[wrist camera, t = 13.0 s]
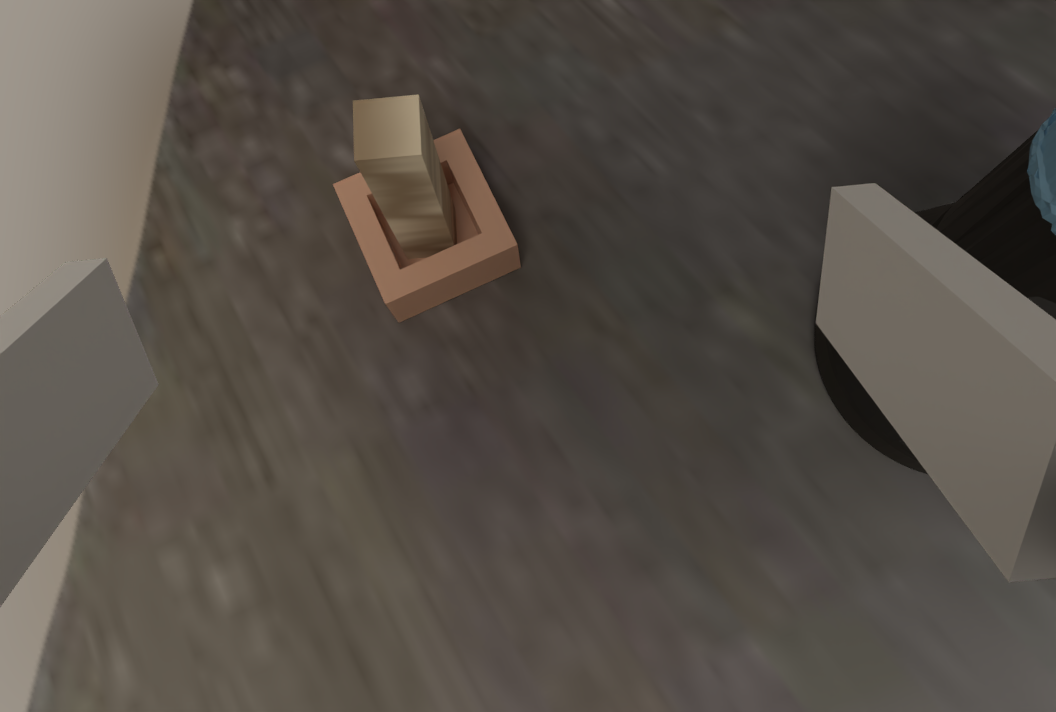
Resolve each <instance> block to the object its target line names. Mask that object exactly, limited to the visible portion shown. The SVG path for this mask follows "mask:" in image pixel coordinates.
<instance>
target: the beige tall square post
mask: <svg viewBox="0 0 1056 712" xmlns="http://www.w3.org/2000/svg"><path fill="white" fill-rule="evenodd" d="M353 128H354V161H355V163H356V165H357V167H358V169H359V170H360V172H361V174H362V176H363V178H364V180H365V181H366V183H367V185H368V187H369V189H370V191H371V193H372V194H373V196H374V198H375V200H376V202H377V204H378V205H379V207H380V209H381V211H382V213H383V215H384V217H385V218H386V220H387V222H388V224H389V226H390V228H391V229H392V231H393V233H394V235H395V237H396V239H397V240H398V242H399V244H400V246H401V248H402V250H403V252H404V253H405V255H406V257H407V259H416V258H427V257H430V256H432V255H434V254H436V253H438V252H441V251H443V250H445V249H447V248H450V247H452V246H454V245H456V244H457V234H456V217H455V207H454V204H453V201H452V197H451V194H450V191H449V188H448V185H447V182H446V179H445V175H444V172H443V169H442V166H441V163H440V160H439V157H438V154H437V150H436V147H435V144H434V141H433V138H432V135H431V132H430V128H429V125H428V122H427V119H426V116H425V113H424V110H423V107H422V103H421V100H420V97H419V95H409V96H399V97H388V98H377V99H366V100H356V101H353Z"/></svg>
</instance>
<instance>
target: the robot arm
mask: <svg viewBox="0 0 1056 712" xmlns="http://www.w3.org/2000/svg"><path fill="white" fill-rule="evenodd" d="M815 350H816V357H817V362H818V366H819V370H820V373H821V376H822V379H823V382H824V384H825V387H826V389H827V391H828V393H829V395H830V397H831V399H832V401H833V402H834V404H835V406H836V407H837V409H838V410H839V412H840V413H841V414H842V416H843V417H844V419H845V420H846V421H847V422H848V423H849V425H850V426H851V427H852V428H853V429H854V430H855V431H856V432H857V433H858V434H859V435H860V436H861V437H862V438H863V439H864V440H865V441H867V442H868V443H869V444H870V445H872V446H873V447H874V448H875V449H877V450H878V451H880V452H881V453H883V454H884V455H886V456H887V457H889V458H891V459H893V460H894V461H896V462H898V463H900V464H902V465H904V466H907V467H909V468H912V469H914V470H917V471H920V472H923V473H926V474H929V476H930V477H931V478H932V480H933V481H934V482H935V484H936V485H937V487H938V488H939V489H940V491H941V492H942V493H943V495H944V496H945V497H946V499H947V500H948V501H949V503H950V504H951V505H952V507H953V508H954V509H955V511H956V512H957V513H958V515H959V516H960V517H961V519H962V520H963V521H964V523H965V524H966V526H967V527H968V528H969V530H970V531H971V532H972V534H973V535H974V536H975V538H976V539H977V540H978V542H979V543H980V544H981V546H982V547H983V548H984V550H985V551H986V552H987V554H988V555H989V556H990V558H991V559H992V560H993V562H994V563H995V565H996V566H997V567H998V569H999V570H1000V571H1001V573H1002V574H1003V575H1004V577H1005V578H1006V579H1007V581H1008V582H1018V581H1029V580H1041V579H1053V578H1056V108H1055V109H1054V110H1053V112H1052V114H1051V116H1050V117H1049V118H1048V119H1047V120H1046V121H1045V122H1044V123H1043V124H1042V125H1041V127H1040V128H1039V130H1038V131H1037V132H1035V133H1034V134H1033V135H1032V136H1031V137H1030V138H1029V139H1027V140H1026V141H1025V142H1024V143H1023V144H1022V145H1021V146H1019V147H1018V148H1017V149H1016V150H1015V151H1014V152H1013V153H1012V154H1010V155H1009V156H1008V157H1007V158H1006V159H1005V160H1004V161H1002V162H1001V163H1000V164H999V165H998V166H997V167H996V168H994V169H993V170H992V171H991V172H990V173H989V174H988V175H987V176H985V177H984V178H983V179H982V180H981V181H980V182H979V183H977V184H976V185H975V186H974V187H973V188H972V189H971V190H969V191H968V192H967V193H966V194H965V195H964V196H962V197H961V198H960V199H959V200H958V201H957V202H956V203H952V204H948V205H944V206H940V207H936V208H932V209H928V210H924V211H920V212H916V213H914V212H913V211H911V210H910V209H909V208H907V207H906V206H905V205H903V204H902V203H901V202H899V201H898V200H897V199H896V198H894V197H893V196H892V195H890V194H889V193H888V192H886V191H885V190H884V189H882V188H881V187H880V186H878V185H877V184H876V183H870V184H859V185H849V186H839V187H832V189H831V198H830V206H829V215H828V223H827V232H826V240H825V248H824V257H823V265H822V274H821V282H820V291H819V299H818V308H817V315H816V322H815ZM157 386H158V382H157V380H156V377H155V375H154V372H153V370H152V367H151V365H150V362H149V360H148V358H147V355H146V353H145V350H144V348H143V345H142V343H141V340H140V338H139V336H138V333H137V331H136V328H135V326H134V323H133V321H132V318H131V316H130V314H129V311H128V309H127V306H126V304H125V301H124V299H123V296H122V294H121V292H120V289H119V287H118V284H117V282H116V279H115V277H114V275H113V272H112V270H111V267H110V265H109V262H108V260H107V258H103V259H92V260H81V261H71V262H65V263H64V264H62V265H61V266H60V267H59V268H58V269H56V270H55V271H54V272H53V273H52V274H50V275H49V276H48V277H47V278H46V279H44V280H43V281H42V282H41V283H39V284H38V285H37V286H36V287H35V288H34V289H32V290H31V291H30V292H29V293H27V294H26V295H25V296H24V297H23V298H21V299H20V300H19V301H18V302H17V303H15V304H14V305H13V306H12V307H10V308H9V309H8V310H7V311H6V312H4V313H3V314H2V315H1V316H0V607H1V605H2V604H3V603H4V601H5V600H6V598H7V597H8V595H9V594H10V593H11V591H12V589H14V587H15V586H16V584H17V583H18V582H19V580H20V579H21V577H22V575H23V574H24V573H25V572H26V570H27V569H28V567H29V566H30V565H31V563H32V562H33V560H34V559H35V558H36V556H37V555H38V553H39V552H40V551H41V549H42V548H43V546H44V545H45V543H46V542H47V541H48V539H49V538H50V536H51V535H52V534H53V532H54V531H55V529H56V528H57V527H58V525H59V523H60V522H61V521H62V520H63V518H64V517H65V515H66V514H67V512H68V511H69V510H70V508H71V507H72V505H73V504H74V503H75V501H76V500H77V498H78V497H79V496H80V494H81V493H82V491H83V490H84V489H85V487H86V486H87V484H88V483H89V482H90V480H91V479H92V477H93V476H94V475H95V473H96V472H97V470H98V469H99V468H100V466H101V465H102V463H103V462H104V460H105V459H106V458H107V456H108V455H109V453H110V452H111V451H112V449H113V448H114V446H115V445H116V444H117V442H118V441H119V439H120V438H121V437H122V435H123V434H124V432H125V431H126V430H127V428H128V427H129V425H130V424H131V422H132V421H133V420H134V418H135V417H136V415H137V414H138V413H139V411H140V410H141V408H142V407H143V406H144V404H145V403H146V401H147V400H148V399H149V397H150V396H151V394H152V393H153V392H154V390H155V389H156V387H157Z"/></svg>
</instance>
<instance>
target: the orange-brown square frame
mask: <svg viewBox="0 0 1056 712" xmlns="http://www.w3.org/2000/svg"><path fill="white" fill-rule="evenodd" d="M433 141H434V144H435V147H436V150H437V154H438V157H439V160H440V163H441V166H442V169H443V172H444V175H445V179H446V182H447V185H448V188H449V191H450V194H451V197H452V201H453V204H454V207H455V217H456V234H457V244H456V245H454V246H452V247H450V248H447V249H445V250H443V251H441V252H438V253H436V254H434V255H432V256H430V257H427V258H416V259H407V257H406V255H405V253H404V252H403V250H402V248H401V246H400V244H399V242H398V240H397V239H396V237H395V235H394V233H393V231H392V229H391V228H390V226H389V224H388V222H387V220H386V218H385V217H384V215H383V213H382V211H381V209H380V207H379V205H378V204H377V202H376V200H375V198H374V196H373V194H372V193H371V191H370V189H369V187H368V185H367V183H366V181H365V180H364V178H363V176H362V174H361V172H360V173H358V174H355V175H353V176H351V177H348V178H346V179H344V180H342V181H339V182H337V183H335V184H333V186H334V188H335V190H336V193H337V195H338V197H339V199H340V202H341V204H342V206H343V209H344V211H345V213H346V215H347V218H348V220H349V222H350V225H351V227H352V229H353V231H354V234H355V236H356V238H357V241H358V243H359V245H360V247H361V250H362V252H363V254H364V257H365V259H366V261H367V263H368V266H369V268H370V270H371V273H372V275H373V277H374V279H375V282H376V284H377V286H378V289H379V291H380V293H381V295H382V298H383V300H384V302H385V304H386V306H387V307H388V308H389V310H390V311H391V313H392V314H393V315H394V317H395V318H396V319H397V321H398V322H399V323H400V322H402V321H404V320H406V319H408V318H411V317H413V316H415V315H417V314H419V313H422V312H424V311H426V310H428V309H430V308H433V307H435V306H437V305H439V304H441V303H444V302H446V301H448V300H450V299H452V298H455V297H457V296H459V295H461V294H464V293H466V292H468V291H470V290H472V289H475V288H477V287H479V286H481V285H483V284H486V283H488V282H490V281H492V280H494V279H497V278H499V277H501V276H503V275H505V274H508V273H510V272H512V271H514V270H516V269H519V268H521V265H520V258H519V251H518V245H517V243H516V241H515V238H514V236H513V234H512V232H511V230H510V228H509V226H508V224H507V222H506V220H505V218H504V216H503V214H502V212H501V210H500V208H499V206H498V204H497V202H496V200H495V198H494V196H493V194H492V192H491V190H490V188H489V186H488V184H487V182H486V180H485V178H484V176H483V174H482V172H481V170H480V168H479V166H478V164H477V162H476V160H475V158H474V156H473V154H472V152H471V150H470V148H469V146H468V144H467V142H466V140H465V138H464V136H463V134H462V132H461V130H460V129H458V130H456V131H453V132H451V133H449V134H447V135H444V136H442V137H440V138H437V139H435V140H433Z"/></svg>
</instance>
